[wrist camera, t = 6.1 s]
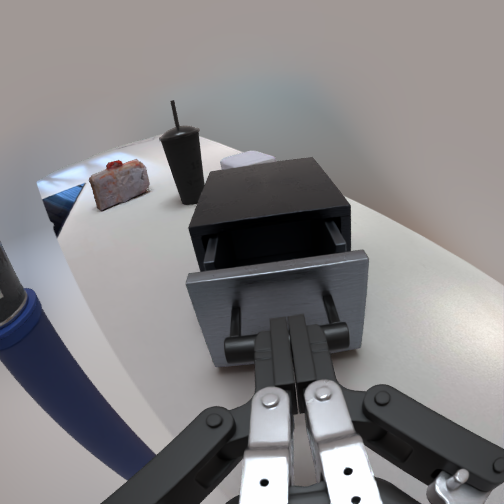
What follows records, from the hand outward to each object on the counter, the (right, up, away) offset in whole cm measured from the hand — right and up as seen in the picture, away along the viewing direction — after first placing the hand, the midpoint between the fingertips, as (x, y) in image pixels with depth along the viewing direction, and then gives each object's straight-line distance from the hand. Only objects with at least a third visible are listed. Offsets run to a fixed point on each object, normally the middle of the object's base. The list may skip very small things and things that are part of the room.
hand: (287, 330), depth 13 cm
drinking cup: (-13, +13, +47) cm, 51 cm away
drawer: (+1, -2, +14) cm, 14 cm away
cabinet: (+1, +1, +22) cm, 22 cm away
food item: (-32, +16, +57) cm, 68 cm away
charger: (-1, +18, +52) cm, 55 cm away
